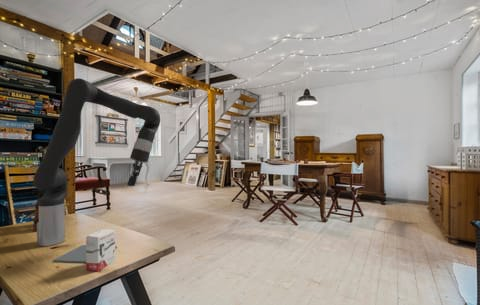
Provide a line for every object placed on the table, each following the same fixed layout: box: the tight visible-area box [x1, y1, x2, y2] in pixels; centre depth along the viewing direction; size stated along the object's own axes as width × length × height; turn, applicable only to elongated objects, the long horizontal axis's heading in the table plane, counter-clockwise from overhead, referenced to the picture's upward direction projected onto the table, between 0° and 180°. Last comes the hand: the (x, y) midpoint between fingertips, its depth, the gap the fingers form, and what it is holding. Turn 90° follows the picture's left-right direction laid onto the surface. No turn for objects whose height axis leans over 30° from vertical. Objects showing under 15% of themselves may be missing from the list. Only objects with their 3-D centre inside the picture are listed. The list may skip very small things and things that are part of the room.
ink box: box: [85, 228, 116, 272], centre depth 85 cm, size 9×5×12 cm, turn 168°
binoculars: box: [32, 190, 46, 233], centre depth 130 cm, size 18×8×20 cm, turn 38°
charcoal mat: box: [52, 244, 118, 264], centre depth 94 cm, size 16×14×1 cm
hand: (130, 185), depth 103 cm, fingers open, 8 cm apart
